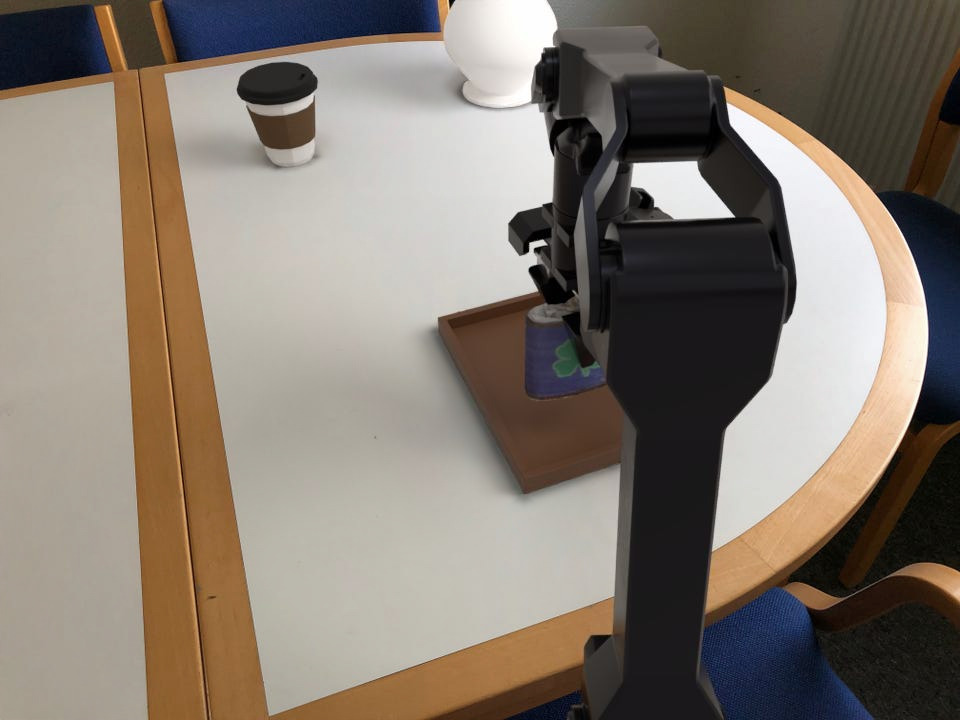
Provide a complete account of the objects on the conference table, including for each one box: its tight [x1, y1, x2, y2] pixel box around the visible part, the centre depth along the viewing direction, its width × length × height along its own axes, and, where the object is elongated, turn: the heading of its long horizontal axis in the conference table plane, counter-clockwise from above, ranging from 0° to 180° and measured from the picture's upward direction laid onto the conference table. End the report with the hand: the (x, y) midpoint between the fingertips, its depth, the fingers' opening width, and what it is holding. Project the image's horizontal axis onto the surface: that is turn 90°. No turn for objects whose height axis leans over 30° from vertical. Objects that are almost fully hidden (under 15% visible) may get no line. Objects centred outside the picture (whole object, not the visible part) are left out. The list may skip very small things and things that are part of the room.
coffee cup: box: [236, 61, 319, 168], centre depth 111 cm, size 11×11×12 cm
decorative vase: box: [442, 0, 559, 109], centre depth 121 cm, size 18×18×25 cm
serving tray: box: [437, 290, 623, 495], centre depth 79 cm, size 24×18×2 cm
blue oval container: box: [524, 296, 607, 401], centre depth 69 cm, size 9×3×11 cm, turn 107°
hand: (578, 354), depth 70 cm, fingers closed on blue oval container, 3 cm apart
